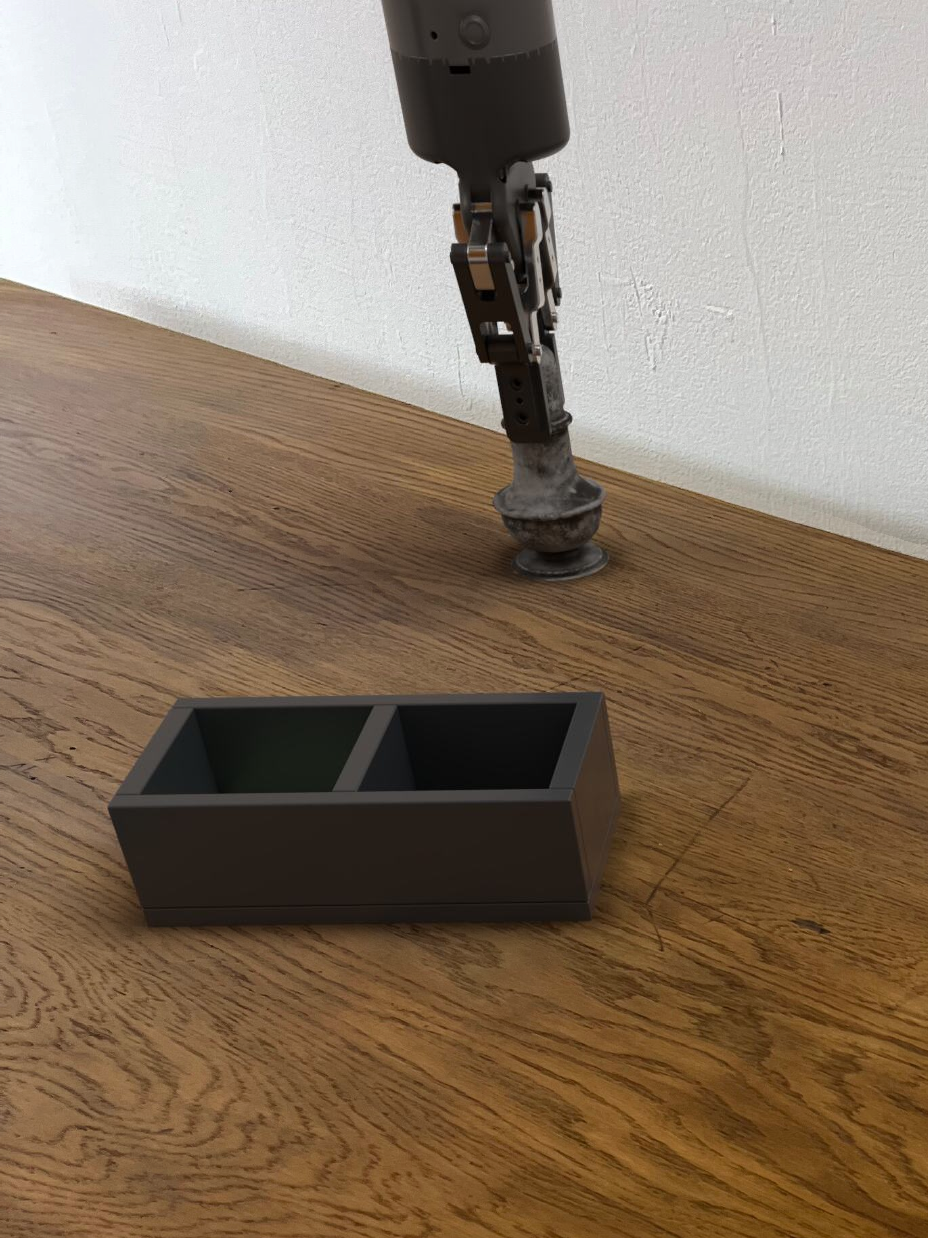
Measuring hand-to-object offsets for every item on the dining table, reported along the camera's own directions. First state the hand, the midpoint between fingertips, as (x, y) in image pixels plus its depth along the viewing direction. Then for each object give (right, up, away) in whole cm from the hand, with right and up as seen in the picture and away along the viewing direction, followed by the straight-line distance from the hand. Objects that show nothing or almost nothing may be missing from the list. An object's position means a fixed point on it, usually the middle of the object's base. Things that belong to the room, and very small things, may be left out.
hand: (537, 424), depth 105 cm
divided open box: (-2, -27, -18) cm, 33 cm away
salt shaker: (0, -5, +5) cm, 7 cm away
